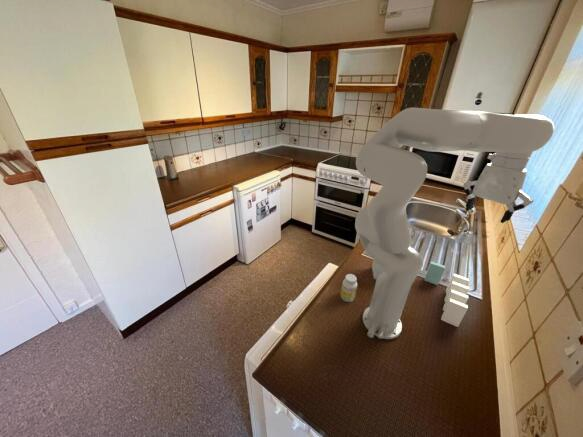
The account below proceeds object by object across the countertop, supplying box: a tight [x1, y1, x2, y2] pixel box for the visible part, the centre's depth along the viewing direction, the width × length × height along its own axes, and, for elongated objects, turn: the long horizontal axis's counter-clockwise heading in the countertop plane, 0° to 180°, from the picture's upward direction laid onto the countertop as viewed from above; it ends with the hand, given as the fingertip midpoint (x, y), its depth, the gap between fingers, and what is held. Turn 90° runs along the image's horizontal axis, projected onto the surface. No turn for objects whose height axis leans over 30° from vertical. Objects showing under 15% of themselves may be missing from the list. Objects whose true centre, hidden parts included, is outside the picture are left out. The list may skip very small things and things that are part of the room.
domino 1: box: [424, 260, 446, 286], centre depth 96 cm, size 2×5×9 cm, turn 55°
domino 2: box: [445, 273, 470, 294], centre depth 90 cm, size 2×5×9 cm, turn 55°
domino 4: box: [442, 289, 469, 312], centre depth 83 cm, size 2×5×9 cm, turn 55°
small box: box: [371, 259, 385, 280], centre depth 100 cm, size 8×6×10 cm
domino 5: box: [440, 298, 469, 328], centre depth 79 cm, size 2×5×9 cm, turn 55°
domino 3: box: [443, 281, 470, 303], centre depth 86 cm, size 2×5×9 cm, turn 55°
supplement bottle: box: [340, 273, 358, 303], centre depth 88 cm, size 5×5×10 cm
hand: (485, 215), depth 76 cm, fingers open, 9 cm apart
